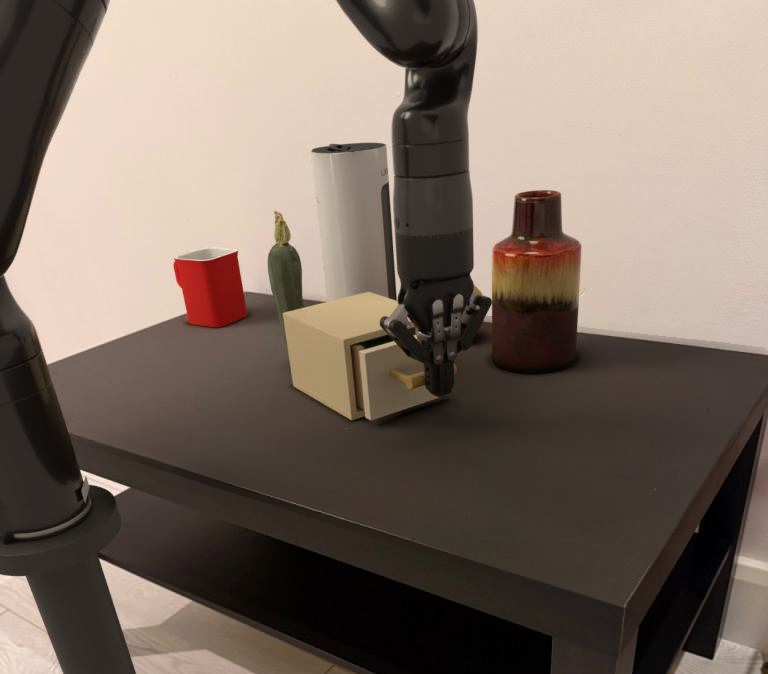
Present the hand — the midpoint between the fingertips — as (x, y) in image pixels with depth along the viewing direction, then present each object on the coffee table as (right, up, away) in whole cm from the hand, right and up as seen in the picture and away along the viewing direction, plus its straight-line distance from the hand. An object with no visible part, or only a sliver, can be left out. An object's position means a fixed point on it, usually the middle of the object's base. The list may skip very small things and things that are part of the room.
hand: (440, 393), depth 82 cm
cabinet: (-9, +3, +14) cm, 17 cm away
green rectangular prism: (-6, +3, +10) cm, 12 cm away
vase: (+14, +7, +19) cm, 24 cm away
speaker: (-9, +14, +34) cm, 38 cm away
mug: (-35, +20, +47) cm, 62 cm away
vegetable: (-18, +7, +24) cm, 31 cm away
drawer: (-5, +1, +9) cm, 11 cm away
